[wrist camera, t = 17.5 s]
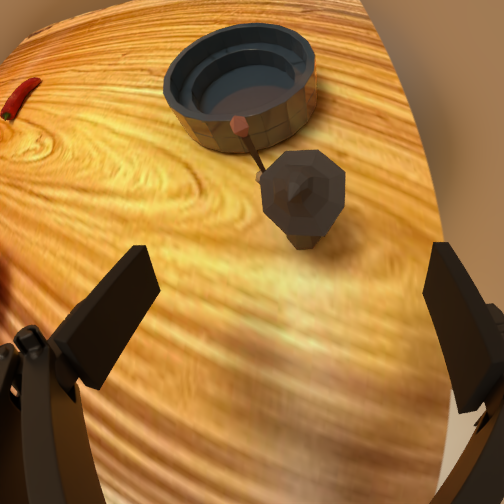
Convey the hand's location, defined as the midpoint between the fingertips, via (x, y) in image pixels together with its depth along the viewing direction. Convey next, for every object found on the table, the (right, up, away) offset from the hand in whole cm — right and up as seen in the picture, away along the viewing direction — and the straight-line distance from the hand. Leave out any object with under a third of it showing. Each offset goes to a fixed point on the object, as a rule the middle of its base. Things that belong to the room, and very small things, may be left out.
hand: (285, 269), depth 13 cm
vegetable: (-51, +33, +33) cm, 69 cm away
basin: (-2, +18, +19) cm, 26 cm away
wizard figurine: (+2, +3, +14) cm, 15 cm away
